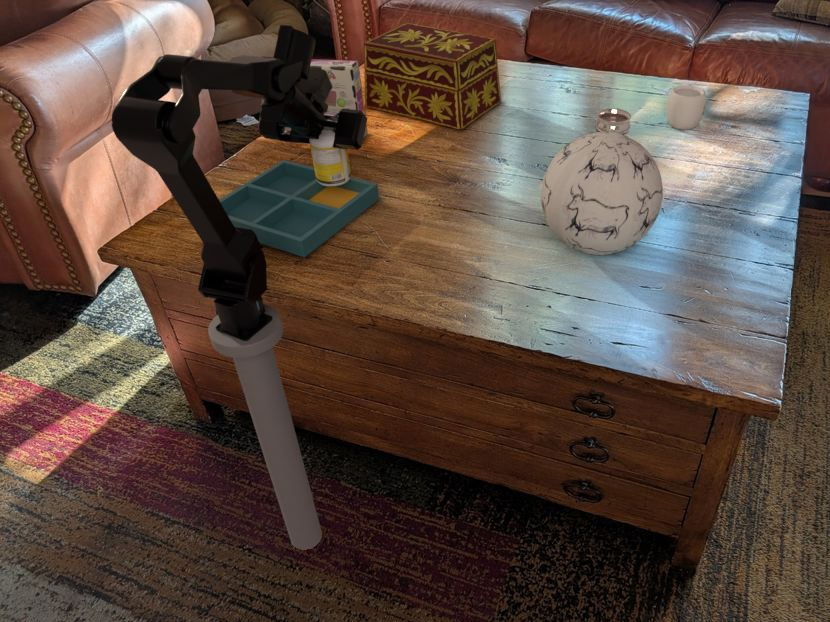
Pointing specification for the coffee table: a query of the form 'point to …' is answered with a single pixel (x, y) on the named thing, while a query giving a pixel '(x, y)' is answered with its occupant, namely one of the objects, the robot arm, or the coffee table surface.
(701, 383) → the coffee table surface
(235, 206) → the tray
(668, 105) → the mug
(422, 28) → the decorative box
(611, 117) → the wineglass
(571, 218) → the decorative sphere
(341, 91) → the candy bar box
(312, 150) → the pill bottle
